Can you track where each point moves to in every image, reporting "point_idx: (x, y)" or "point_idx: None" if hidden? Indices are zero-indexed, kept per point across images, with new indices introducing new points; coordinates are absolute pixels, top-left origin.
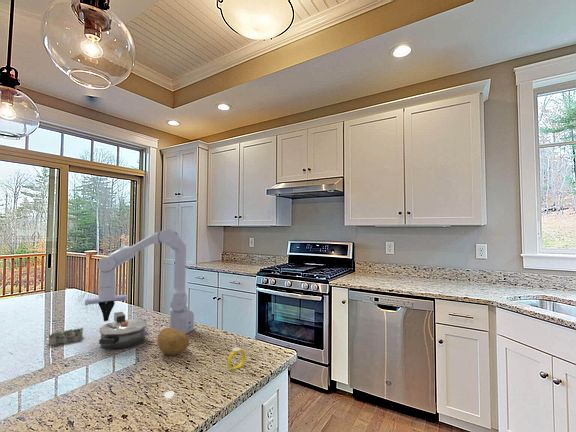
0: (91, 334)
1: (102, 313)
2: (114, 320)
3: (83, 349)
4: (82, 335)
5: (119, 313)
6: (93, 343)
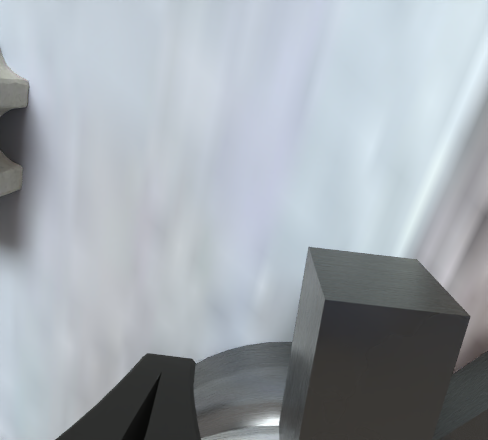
0: (110, 84)
1: (86, 420)
2: (301, 295)
3: (32, 423)
4: (23, 87)
5: (379, 401)
6: (100, 354)
